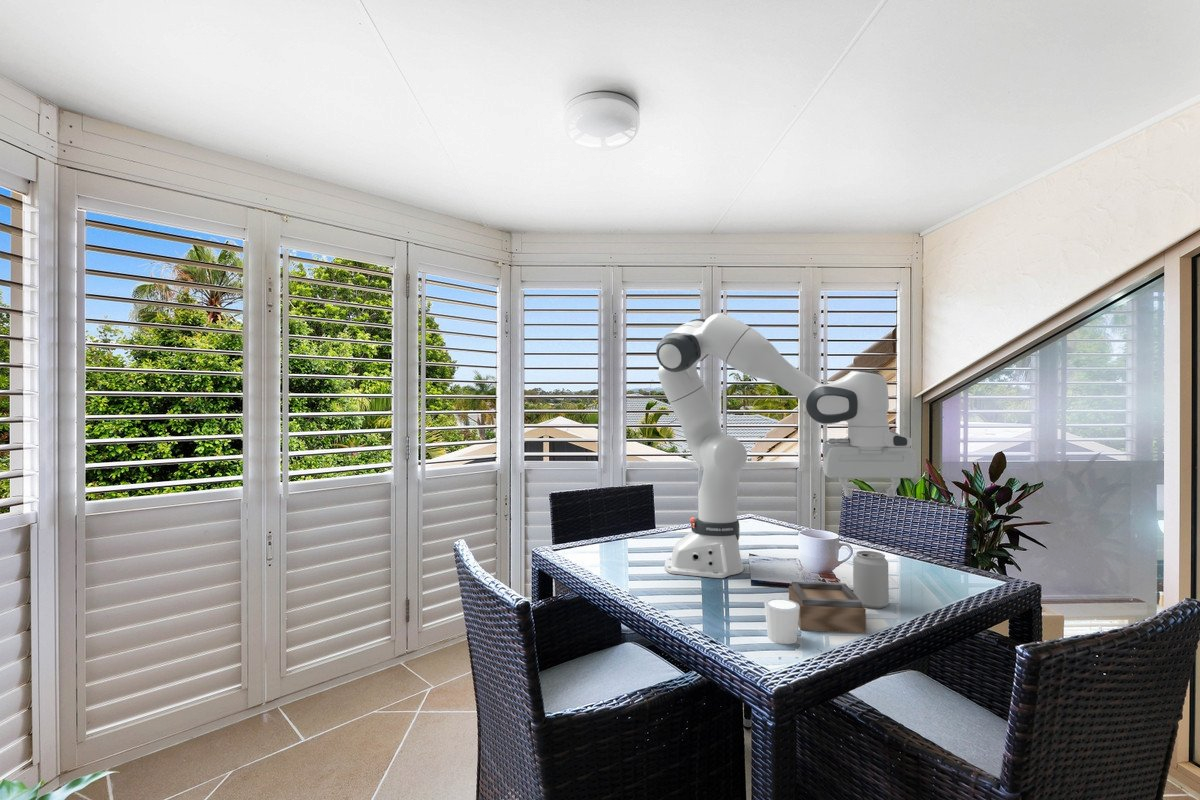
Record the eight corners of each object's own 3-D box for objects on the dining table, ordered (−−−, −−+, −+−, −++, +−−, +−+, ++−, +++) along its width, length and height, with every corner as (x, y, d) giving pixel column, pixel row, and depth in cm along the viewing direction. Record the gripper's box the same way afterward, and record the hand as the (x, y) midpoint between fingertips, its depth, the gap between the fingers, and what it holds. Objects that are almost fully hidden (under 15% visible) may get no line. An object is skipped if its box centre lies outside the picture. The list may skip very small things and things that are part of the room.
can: (860, 596, 137) (860, 547, 137) (893, 603, 132) (892, 553, 132) (848, 604, 132) (847, 553, 132) (882, 612, 127) (881, 559, 127)
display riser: (800, 629, 117) (800, 600, 117) (789, 607, 130) (788, 580, 130) (865, 633, 115) (865, 603, 115) (847, 609, 128) (847, 582, 128)
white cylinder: (759, 631, 117) (759, 598, 117) (791, 630, 117) (790, 597, 117) (772, 646, 110) (772, 610, 110) (806, 644, 110) (805, 609, 110)
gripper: (825, 439, 130) (826, 498, 130) (919, 439, 127) (920, 499, 127) (819, 437, 137) (820, 494, 137) (908, 437, 133) (909, 494, 133)
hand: (869, 496), depth 132 cm, fingers open, 8 cm apart
